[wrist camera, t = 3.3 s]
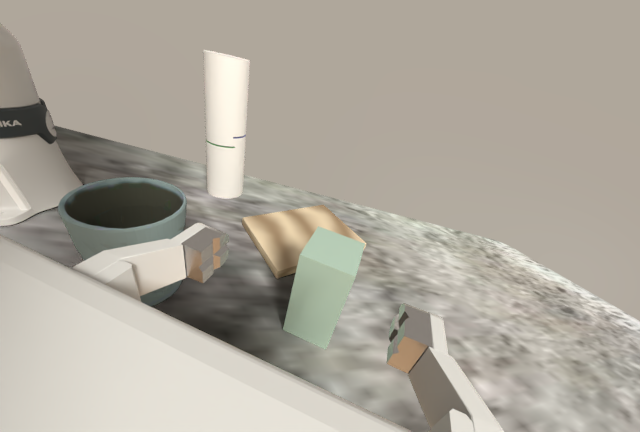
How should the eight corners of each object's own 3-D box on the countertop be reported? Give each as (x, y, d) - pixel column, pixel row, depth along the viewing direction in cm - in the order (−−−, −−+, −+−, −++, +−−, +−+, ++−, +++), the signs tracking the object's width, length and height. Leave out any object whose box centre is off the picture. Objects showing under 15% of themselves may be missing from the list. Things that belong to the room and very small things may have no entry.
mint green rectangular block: (325, 349, 28) (355, 276, 22) (282, 330, 29) (299, 254, 23) (337, 312, 33) (365, 243, 27) (300, 296, 34) (318, 226, 28)
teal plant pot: (98, 262, 32) (69, 177, 26) (187, 248, 37) (180, 175, 31) (87, 330, 25) (43, 237, 19) (197, 301, 30) (192, 220, 24)
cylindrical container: (249, 193, 54) (258, 63, 42) (220, 201, 49) (220, 55, 36) (229, 180, 58) (233, 55, 45) (200, 186, 52) (194, 47, 39)
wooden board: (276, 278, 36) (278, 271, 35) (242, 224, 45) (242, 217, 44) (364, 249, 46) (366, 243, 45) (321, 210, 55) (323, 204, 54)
